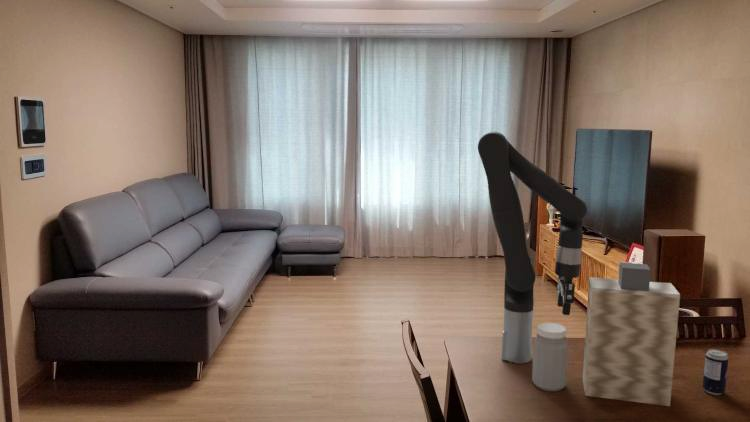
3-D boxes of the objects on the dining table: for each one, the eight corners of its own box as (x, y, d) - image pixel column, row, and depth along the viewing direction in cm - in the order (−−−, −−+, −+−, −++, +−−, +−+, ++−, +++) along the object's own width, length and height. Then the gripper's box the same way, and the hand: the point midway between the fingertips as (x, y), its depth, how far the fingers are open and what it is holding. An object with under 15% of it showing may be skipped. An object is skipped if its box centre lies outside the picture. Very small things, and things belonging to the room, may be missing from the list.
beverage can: (727, 397, 163) (732, 357, 161) (706, 395, 164) (710, 355, 162) (720, 388, 168) (724, 349, 166) (699, 386, 169) (703, 347, 167)
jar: (524, 381, 172) (527, 324, 169) (550, 375, 176) (553, 319, 173) (546, 395, 164) (549, 335, 161) (573, 389, 167) (576, 330, 164)
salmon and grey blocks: (648, 291, 155) (650, 269, 154) (621, 288, 157) (622, 267, 156) (637, 272, 174) (638, 253, 173) (612, 270, 176) (613, 251, 175)
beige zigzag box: (585, 395, 163) (592, 287, 158) (582, 378, 174) (589, 277, 169) (669, 406, 157) (680, 294, 152) (661, 388, 168) (671, 283, 163)
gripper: (552, 255, 186) (547, 303, 189) (560, 264, 172) (555, 316, 175) (576, 256, 185) (571, 305, 188) (585, 266, 171) (580, 318, 174)
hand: (563, 310), depth 181 cm, fingers open, 8 cm apart
